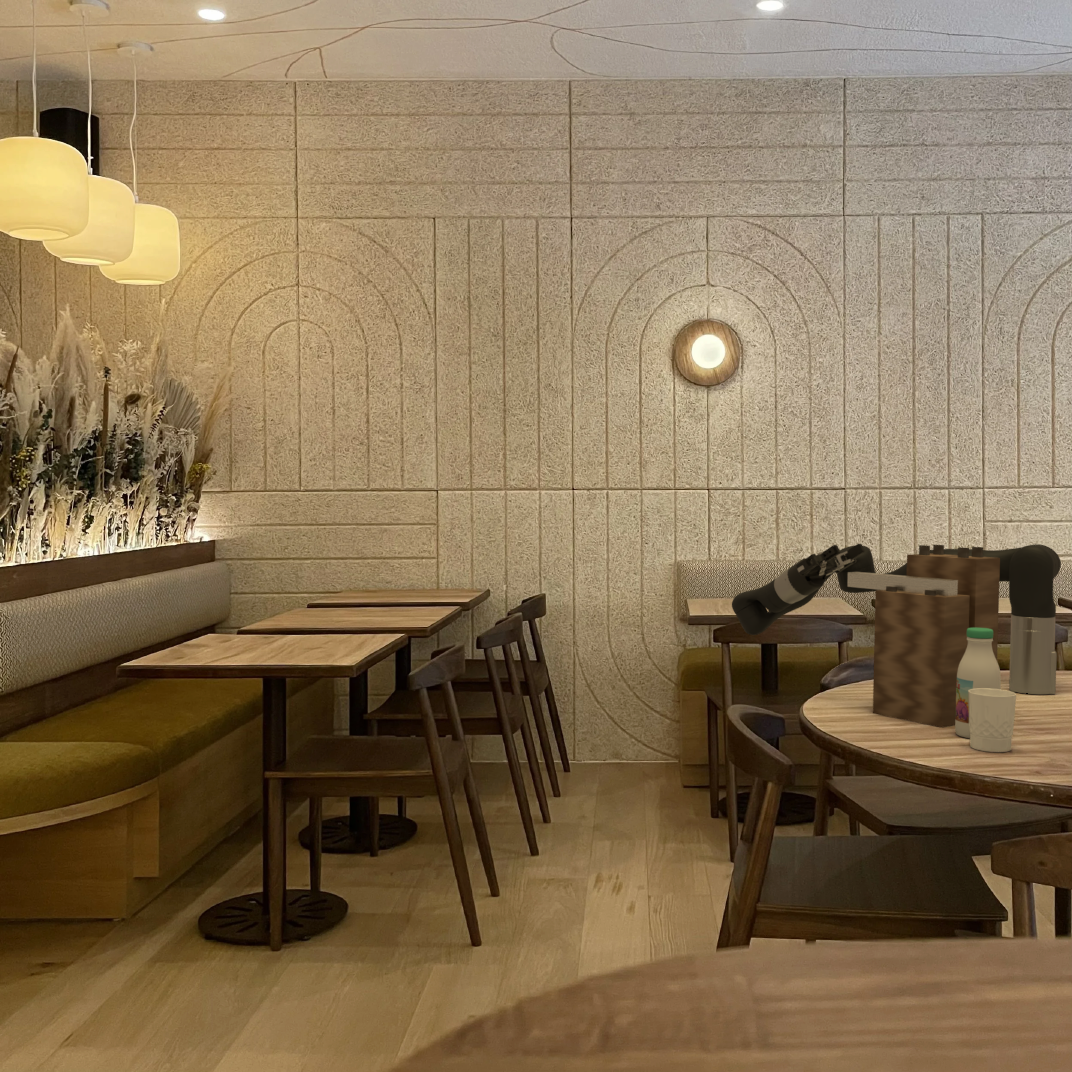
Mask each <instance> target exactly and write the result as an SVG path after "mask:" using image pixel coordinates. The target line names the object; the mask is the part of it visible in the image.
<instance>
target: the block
mask: <svg viewBox="0 0 1072 1072" xmlns="http://www.w3.org/2000/svg"><path fill="white" fill-rule="evenodd" d="M886 586H893V587H897V591H898V592H909V593H919V594H925V590H936V595H940V596H957V590H958V580H950V579H938V578H926V577H914V576H902V575H890V574H885V573H878V572H877V573H865V572H848V587H857V588H867V589H877V590H886Z"/></svg>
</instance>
